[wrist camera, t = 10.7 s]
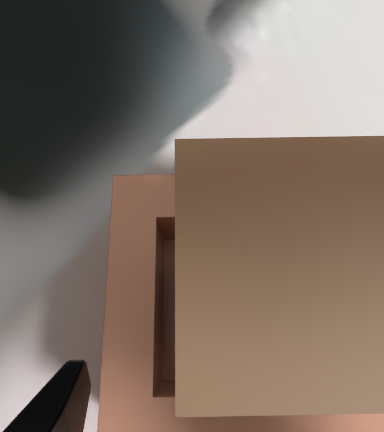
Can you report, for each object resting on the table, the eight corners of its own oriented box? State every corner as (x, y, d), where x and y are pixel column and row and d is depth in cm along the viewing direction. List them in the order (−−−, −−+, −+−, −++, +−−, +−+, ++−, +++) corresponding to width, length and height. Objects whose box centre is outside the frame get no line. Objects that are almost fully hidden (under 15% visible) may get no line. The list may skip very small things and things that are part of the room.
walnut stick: (275, 348, 16) (486, 411, 4) (187, 349, 16) (175, 417, 4) (268, 261, 17) (421, 135, 6) (186, 262, 17) (175, 139, 6)
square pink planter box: (345, 419, 16) (436, 477, 10) (122, 422, 16) (80, 480, 10) (319, 207, 19) (377, 154, 13) (131, 209, 19) (103, 157, 13)
